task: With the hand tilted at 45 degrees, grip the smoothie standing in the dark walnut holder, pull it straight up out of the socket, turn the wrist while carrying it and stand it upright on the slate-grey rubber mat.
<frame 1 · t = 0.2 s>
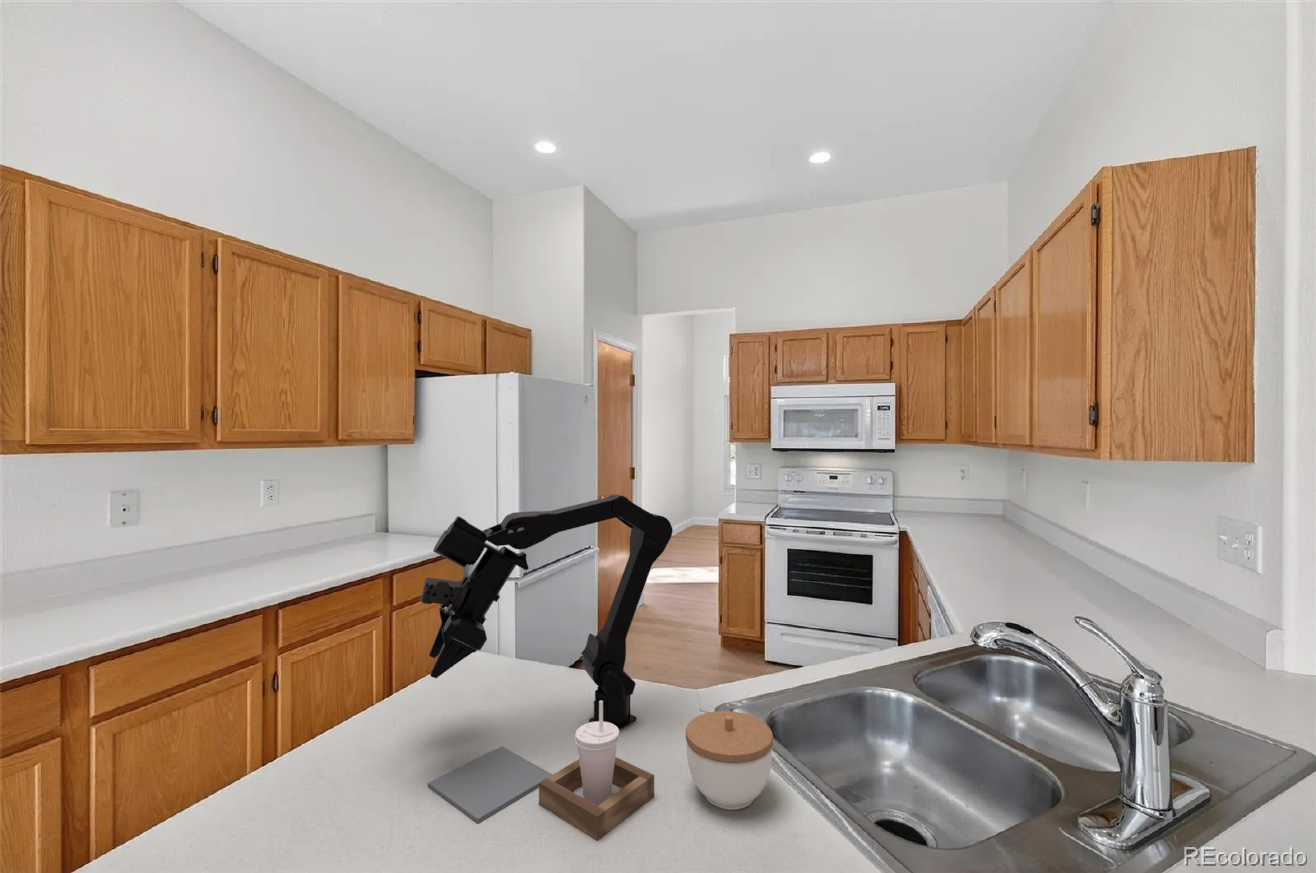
hand: (432, 666, 89), 15 cm above the worktop, tool tilted 35°, fingers open, 9 cm apart
smoothie: (597, 801, 78), resting in walnut holder
lidded bowl: (729, 795, 80), on the worktop
slate mat: (491, 782, 83), on the worktop
walnut holder: (597, 800, 78), on the worktop
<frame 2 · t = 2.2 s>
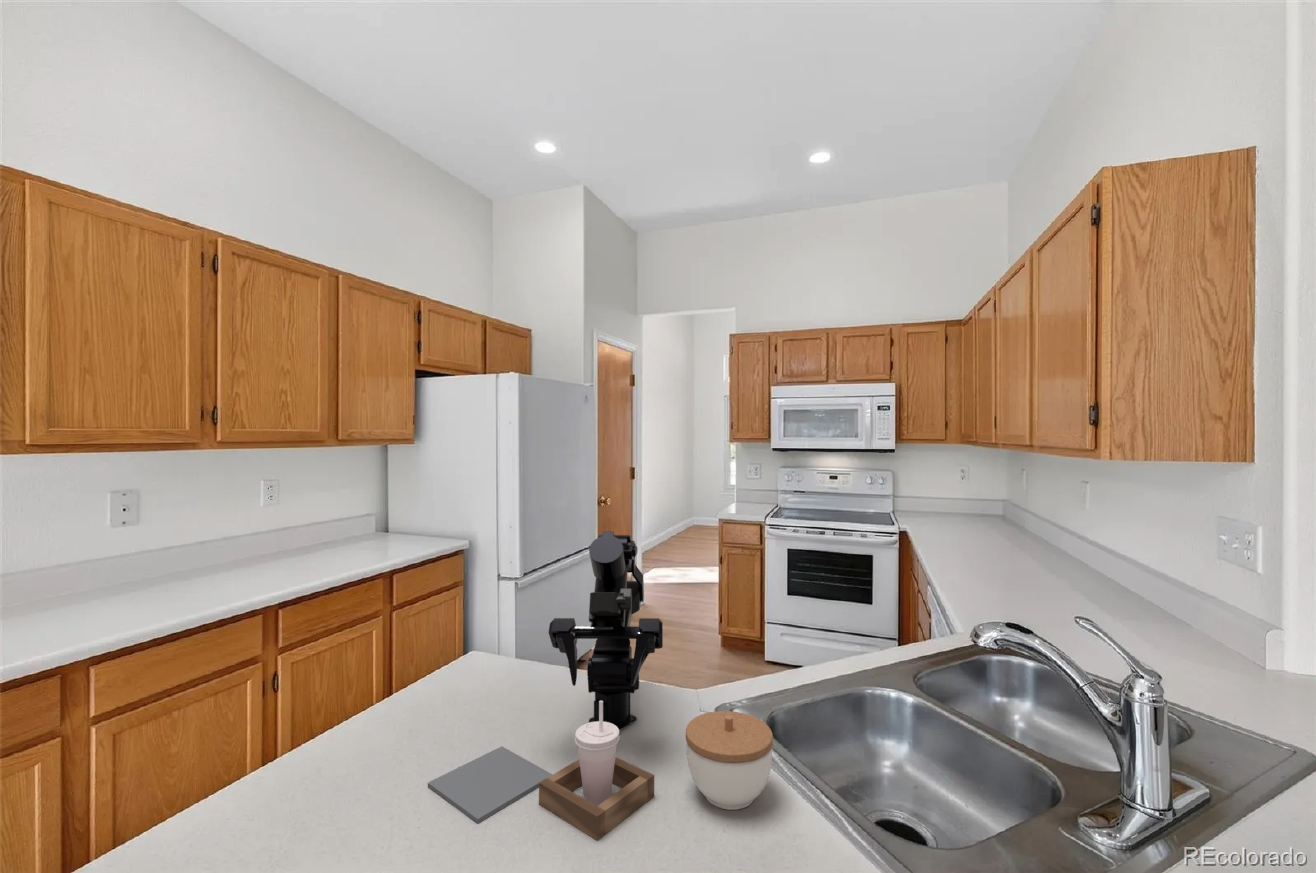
hand: (602, 684, 86), 13 cm above the worktop, tool tilted 45°, fingers open, 9 cm apart
nothing on the worktop moved.
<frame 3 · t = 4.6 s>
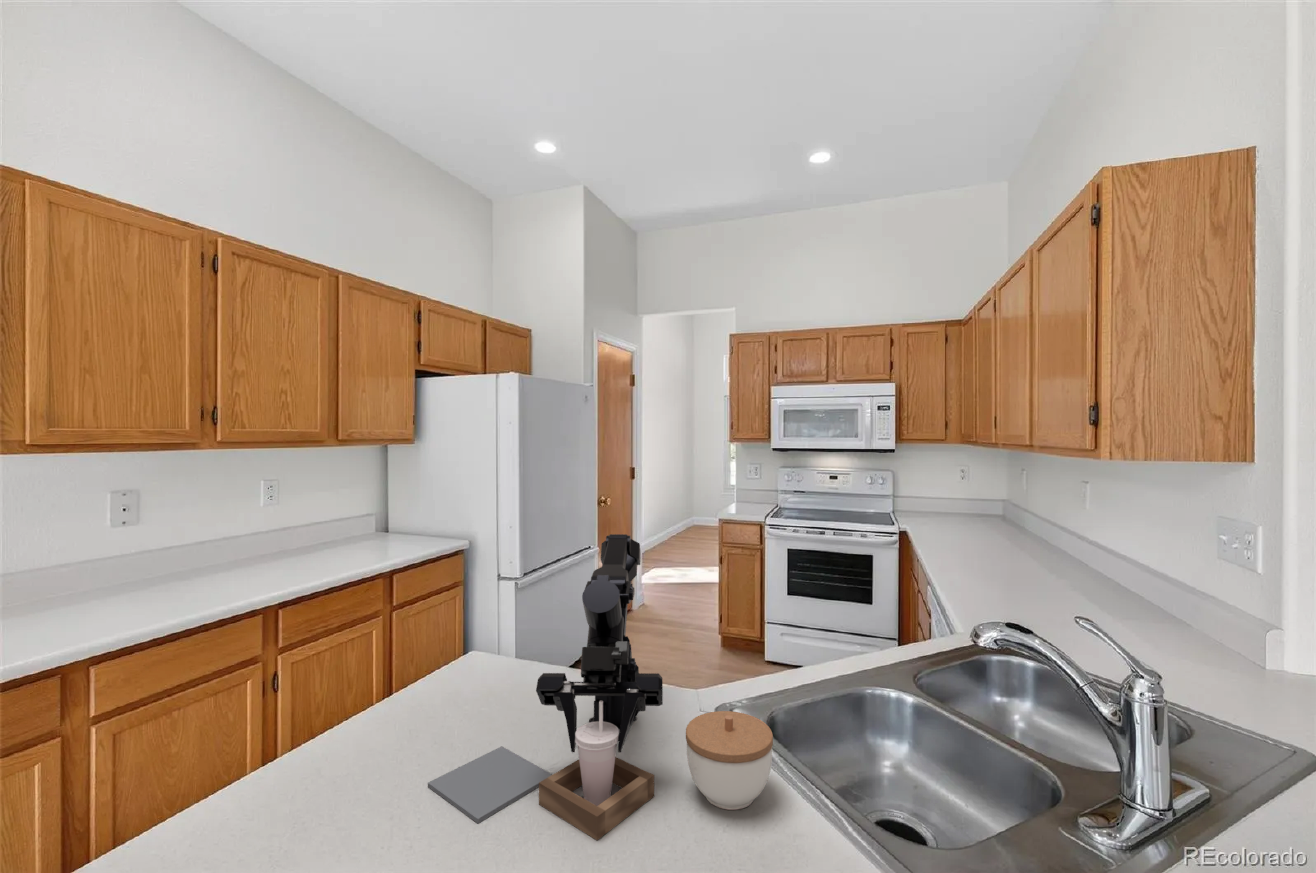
hand: (596, 751, 77), 8 cm above the worktop, tool tilted 45°, fingers closed on smoothie, 6 cm apart
smoothie: (597, 801, 78), resting in walnut holder, touching gripper
everything else where it was.
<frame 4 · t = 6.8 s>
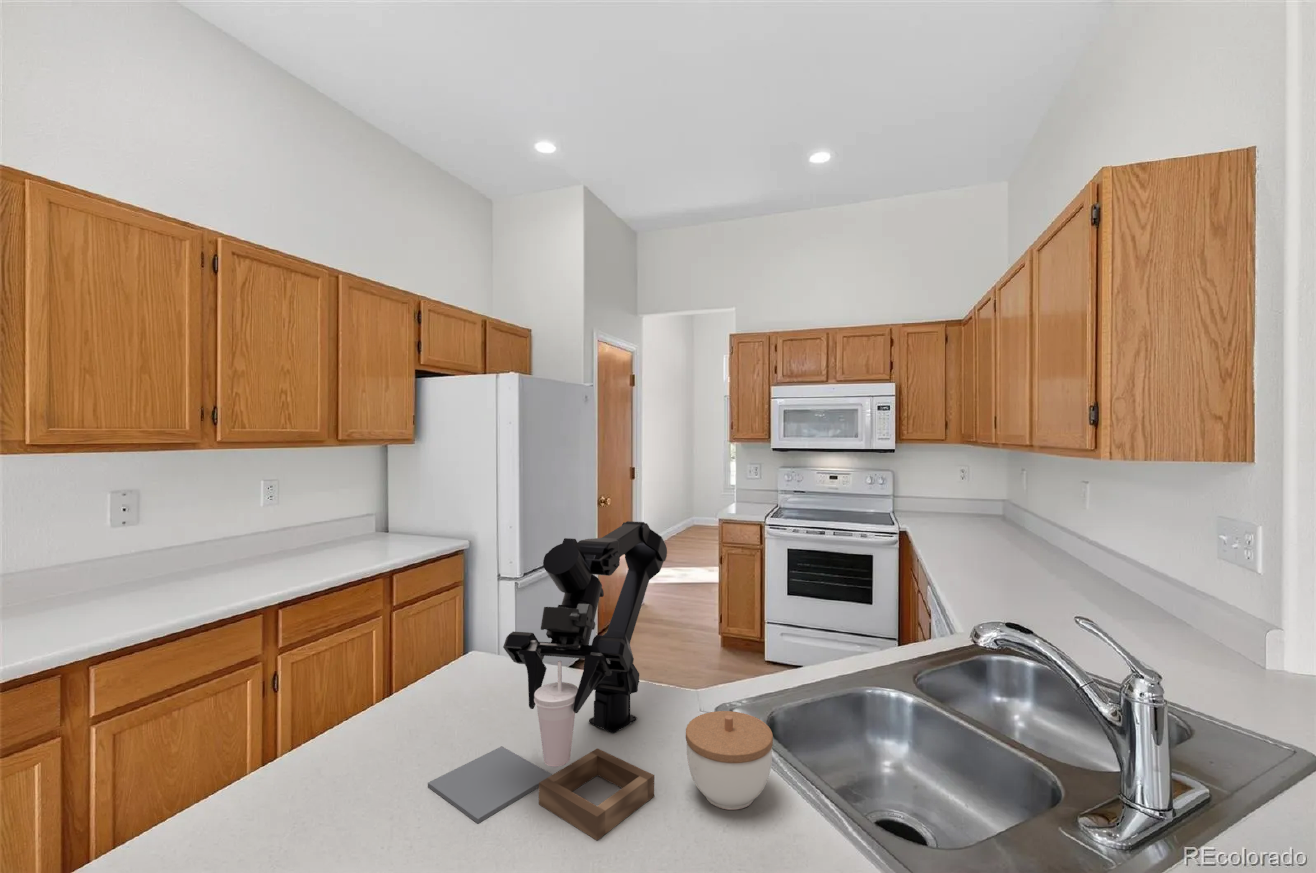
hand: (552, 709, 78), 13 cm above the worktop, tool tilted 45°, fingers closed on smoothie, 6 cm apart
smoothie: (557, 760, 79), point 5 cm above the worktop, touching gripper
everything else where it was.
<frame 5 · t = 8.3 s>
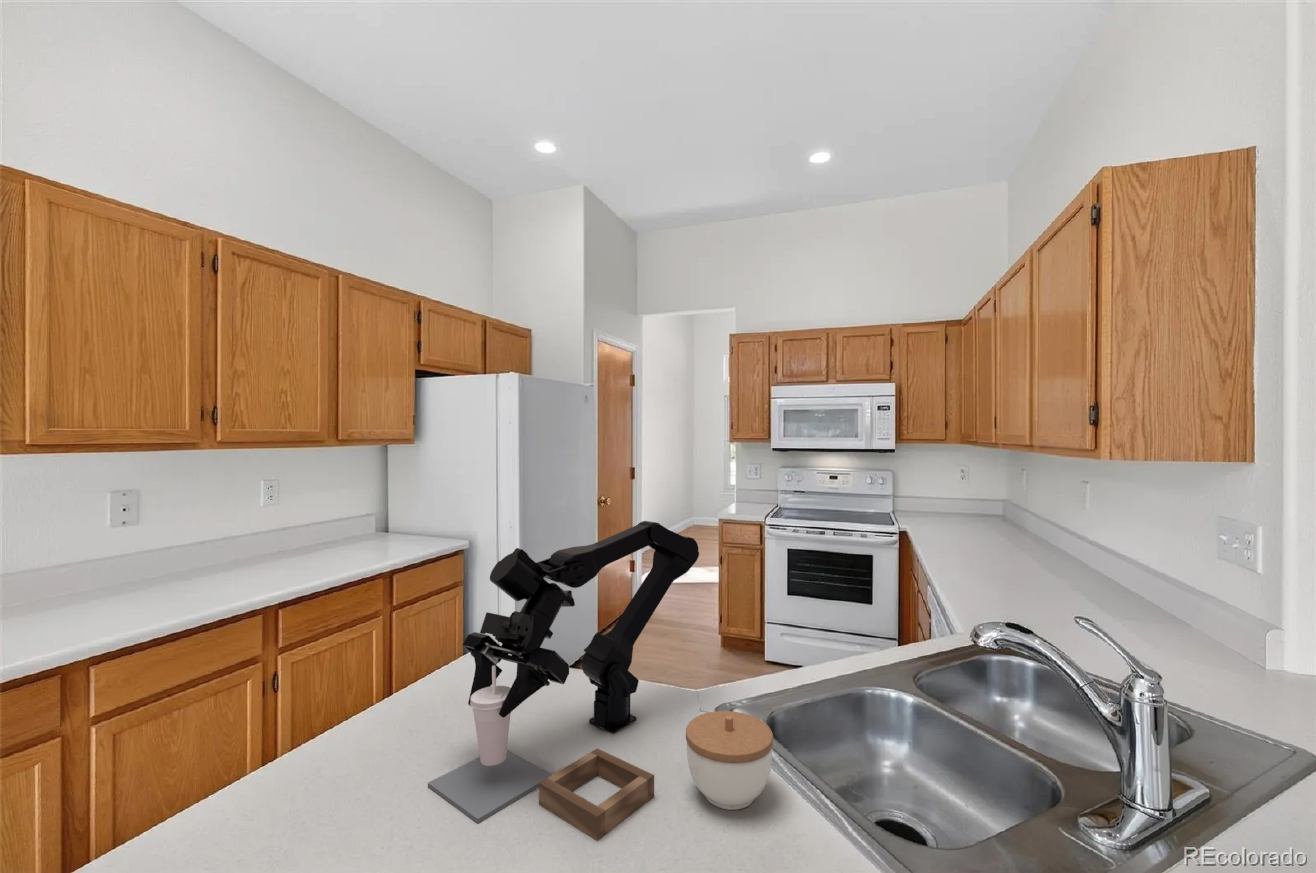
hand: (485, 710, 82), 11 cm above the worktop, tool tilted 45°, fingers closed on smoothie, 6 cm apart
smoothie: (493, 760, 83), point 3 cm above the worktop, touching gripper
everything else where it was.
when the fingers open (9 cm above the worktop, at t = 9.2 s): smoothie stays where it is, resting on slate mat.
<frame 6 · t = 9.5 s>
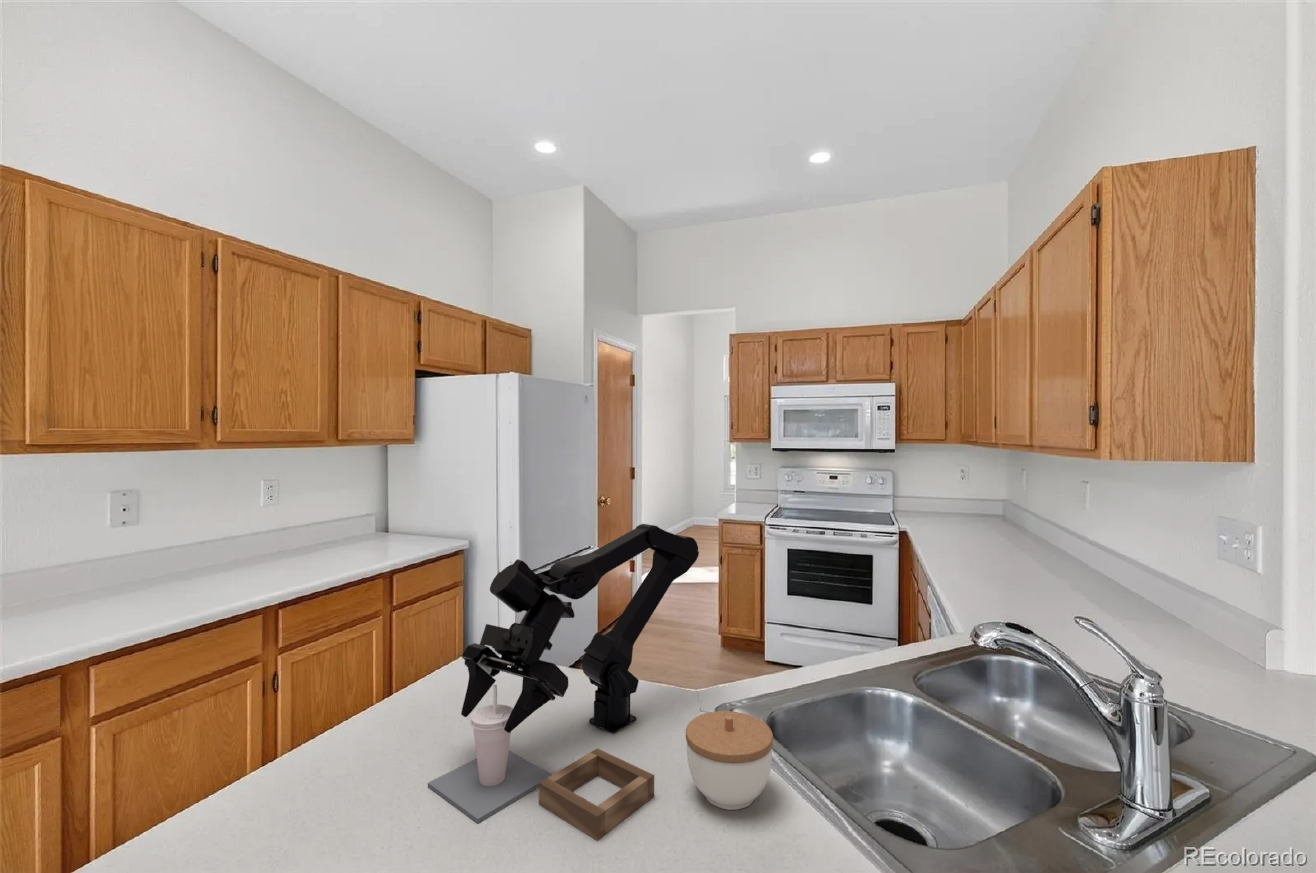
hand: (484, 723, 82), 9 cm above the worktop, tool tilted 45°, fingers open, 9 cm apart
smoothie: (492, 779, 83), resting on slate mat
everything else where it was.
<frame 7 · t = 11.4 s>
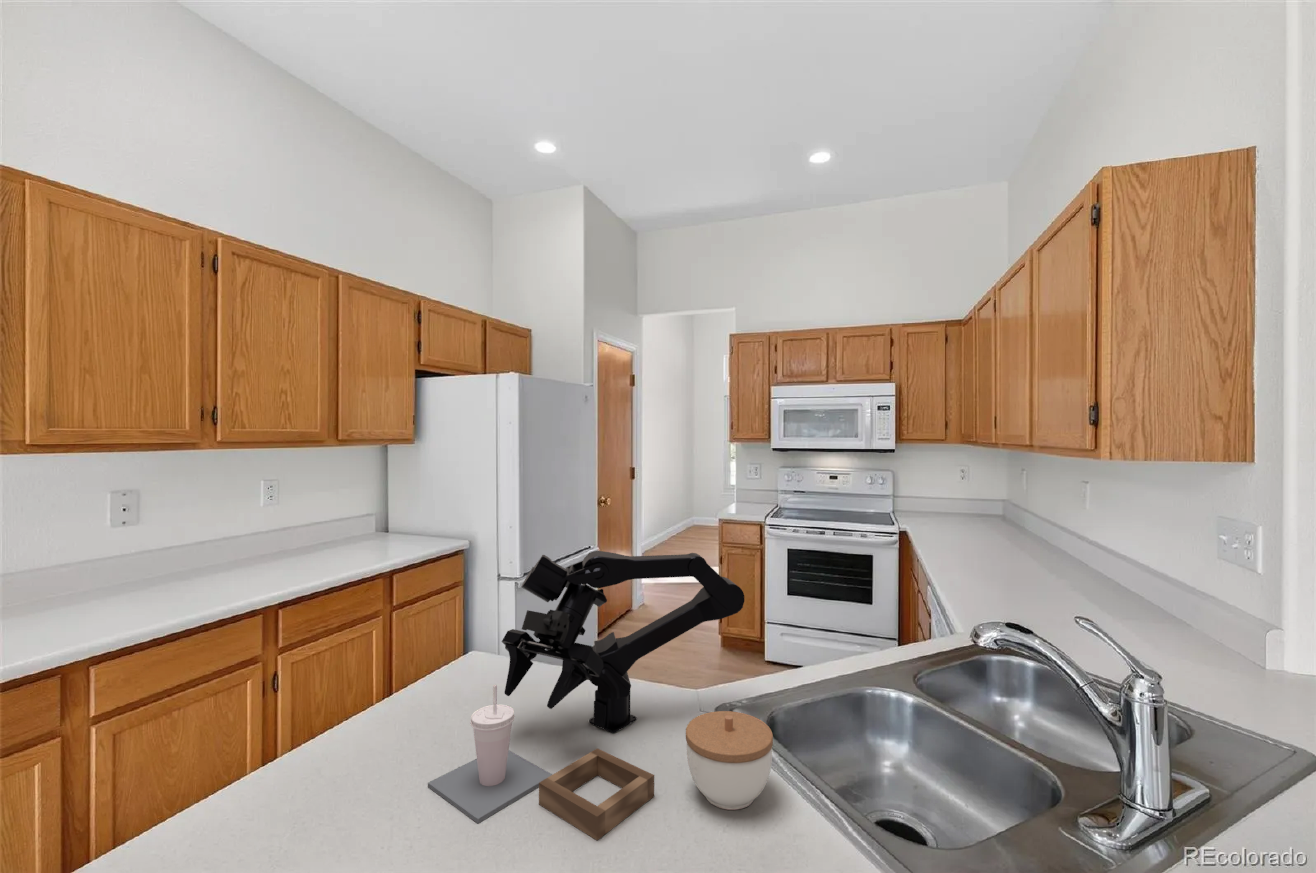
hand: (527, 701, 89), 9 cm above the worktop, tool tilted 45°, fingers open, 9 cm apart
nothing on the worktop moved.
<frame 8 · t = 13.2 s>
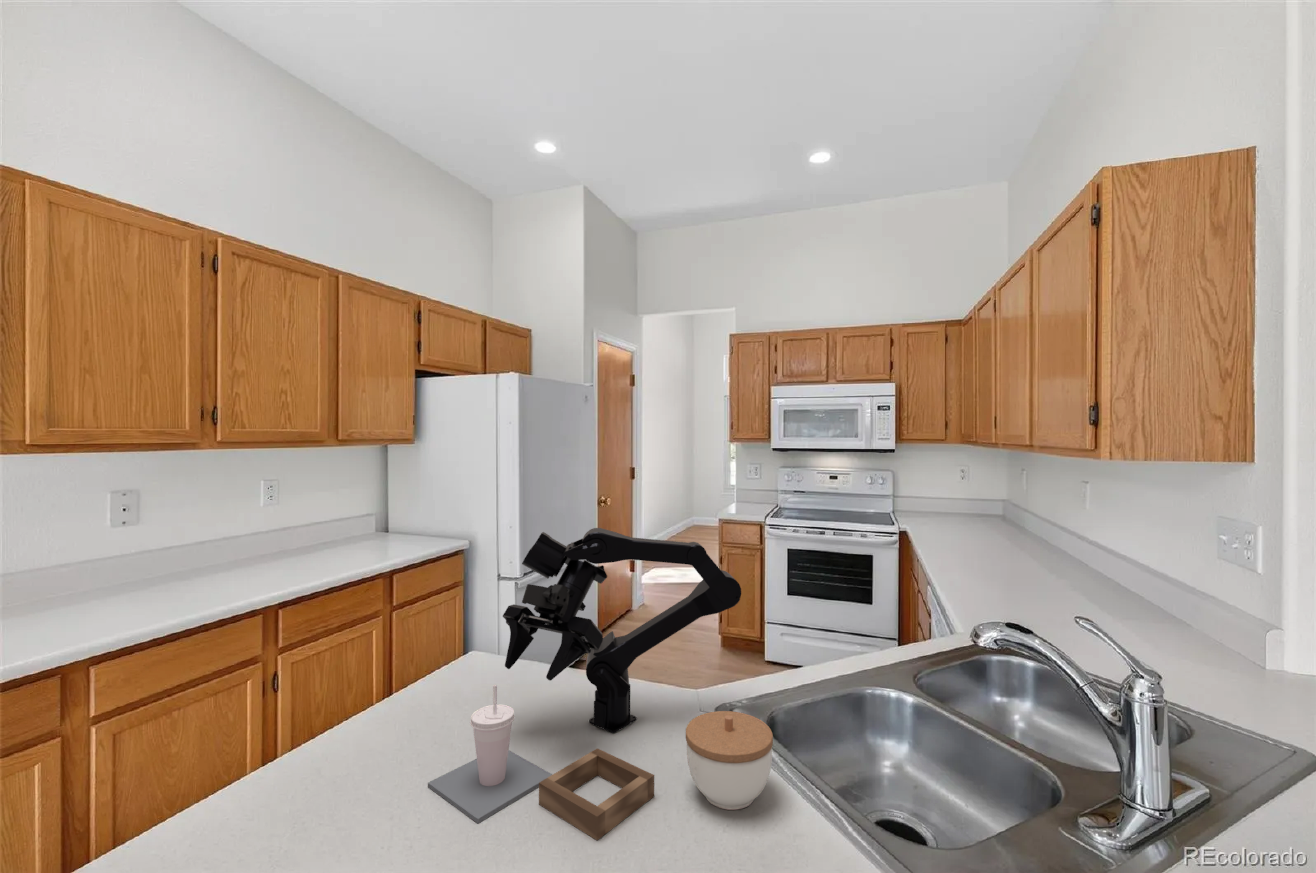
hand: (526, 673, 90), 14 cm above the worktop, tool tilted 45°, fingers open, 9 cm apart
nothing on the worktop moved.
at the end: smoothie inside the target area on the slate mat (0.2 cm from its centre), point 0.4 cm above the slate mat's base; smoothie tilted 0°; the gripper is holding nothing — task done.
